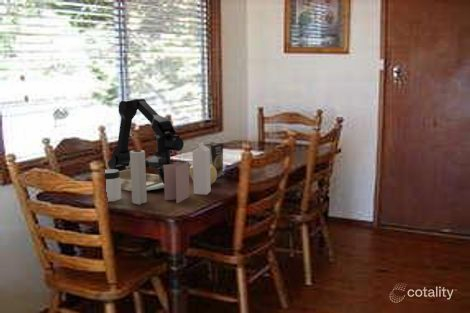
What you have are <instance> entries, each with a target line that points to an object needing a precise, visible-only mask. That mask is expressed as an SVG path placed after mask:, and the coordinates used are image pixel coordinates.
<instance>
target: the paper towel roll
mask: <svg viewBox="0 0 470 313" xmlns="http://www.w3.org/2000/svg"><path fill="white" fill-rule="evenodd" d="M129 151H130V162H129V166H130V168H131V189H132V191H131V203H132V204H135V205H139V206H141V204H145V203H147V202H148V200H147V199H148V197H147V196H148V194H147V191H146V174H147V171H146V168H147V167H145V161H146V152H145V150H143V149H134V150H129Z"/></svg>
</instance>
